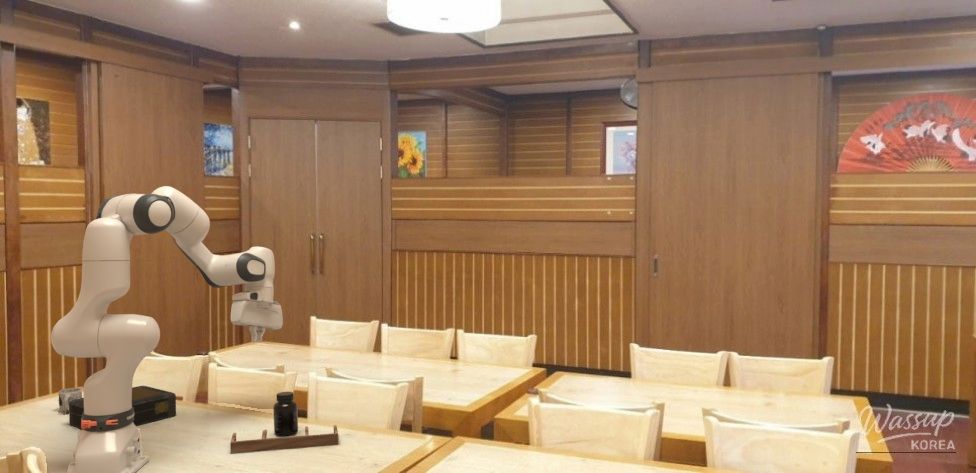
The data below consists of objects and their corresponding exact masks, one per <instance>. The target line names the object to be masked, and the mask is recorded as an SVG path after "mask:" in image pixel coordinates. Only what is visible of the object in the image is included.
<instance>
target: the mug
mask: <svg viewBox="0 0 976 473" xmlns="http://www.w3.org/2000/svg"><path fill="white" fill-rule="evenodd" d="M82 389H83V388H81V387H69V388H63V389H60V390H58V412H59V413H60V414H61V413H62V414H69V402H70V401H72V400H75V399H80V398H83V390H82Z"/></svg>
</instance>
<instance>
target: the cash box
mask: <svg viewBox="0 0 976 473" xmlns="http://www.w3.org/2000/svg"><path fill="white" fill-rule="evenodd" d="M176 400H177V396H176V393H175V392H172V391H168V390H164V389H159V388H155V387H151V386H147V385H138V386H132V407H133V408H134V421H133V423H134V424H135V426H136V427H138V426H142V425H146V424H149V423H153V422H154V423H155V422H158V421H162V420H165V419H169V418H174V417H176V416H177V401H176ZM83 412H84V397H82V398H80V399H75V400H72V401H70V402H69V413H68V416H69V417H68V419H69V422H68V423H69V425H70V426H72V427H75V428H78V429H81V430H83V429H82V428H81V419H82V413H83Z"/></svg>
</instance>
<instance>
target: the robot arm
mask: <svg viewBox="0 0 976 473" xmlns="http://www.w3.org/2000/svg"><path fill="white" fill-rule="evenodd" d="M210 228H211V221H210V218H209V216H208V214H207V213H206V211H205V210H203V208H201V206H199V205H198V204H197V203H196V202H194V201H193V200H192V199H191V198H190V197H189V196H187V195H186V194H184V193H183V192H181V191H180V190H178V189H177V188H174V187H172V186H168V185H163V186H160V187H157V188H156V189H154V190H153V191H152V192H151V193H135V192H133V193H126V194H121V195H120V194H117V195H112V196H110V197H108V198H107V199H105V200H103V201H102V202H101V204H100V205H99V208H98V210H97V214H96V217H95V219H93V220H92V221H91V222H89V223H88V224H87V226H86V229H85V232H84V238H83V242H82V243H83V244H82V255H81V256H82V257H81V260H82V261H81V265H82V266H81V282H80V283H81V284H80V285H81V286H80V291H79V295H78V298H77V300H76V302H75V304H74V305H73V307H72V308H71V309H70V311H68V313H66V314H65V315H64V316H63V317H62V318H60V319H59V320H58V321H57V322H56V324H54V326H53V328H52V330H51V334H50V342H51V345H52V348H53V349H54V351H55V352H56V354H58V355H60V356H64V357H70V358H79V359H82V358H83V359H85V358H88V359H89V358H105V359H106V363H105V367H104V368H103V369H101V370H99V371H97V372H95V373H92V374H91V375H90V376H89V377H87V379H86V380H85V381H84V384H83V388H82V389H83V390H82V393H83V398H84V412H83V413H82V419H81V428H82V429H81V428H80V429H81V431H79V432H78V434H77V444H76V450H75V452H73V458H74V461H70V463H68V467H67V471H66V473H136V472H138V470H140V469H141V468H143V466H145V465H146V464H147V463H148V462H149V461H150V459H149V458H150V457H149V456H148V455H146V454H143V447H142V446H143V445H142V433H141V429H140V428H139V427H138V426H135V424H134V423H133V421H134V408H133V407H132V388H133V381H134V377H135V374H136V370H137V368H138V366H139V365H140V364H141V362H142V361H143V360H144V359H145V358H146V357H147V356H148V355H150V354H151V353H152V352H153V351H154V350H155V349H156V348H157V346H158V345H159V342H160V338H161V330H160V327H159V324H158V322H157V320H156V319H155V318H153V317H152V316H147V315H142V314H137V313H136V314H135V313H128V314H127V313H122V314H121V313H115V314H108V308H109V306H110V304H111V303H112V302H114V301H117V300H118V299H120V298H122V297H124V296H125V295H126V294H127V293H128V292H129V291H130V287H131V251H130V250H131V249H130V246H131V241H132V239H133V237H134V236H143V235H154V234H157V233H160V232H161V233H162V232H163V231H167V233H169V234H170V236H172V237H173V241H174V244H175V245H176V247H177V248H178V250H180V252H181V253H183V255H184V256H185V257H186V258H187V259H188V260H189V261H190V262H191V263H192V264H193V265H194V266H195V267H196V269H197V270H198V271H199V272H200V274H201V275H202V278H204V279H203V280H204V281H205V282H206V284H208V285H209V286H210V287H212V288H215V289H220V288H225V287H228V286H236V285H238V286H239V285H244V284H245V287H244V291H242V292H238V293H234V294H232V298H231V299H232V301H233V302H232V304H231V310H230V322H231V324H232V325H234V326H236V325H237V326H244V327H248V330H249V333H250V336H251V342H254V343H255V342H256V343H261V342H263V336H264V334H265V332H266V329H267V330H281V329H282V327H283V325H284V322H283V321H284V319H283V318H284V317H283V310H282V305H281V304H280V303H279V301H277V300H274V296H275V293H274V291H275V290H274V289H275V288H274V278H275V272H276V270H275V268H276V267H275V266H276V264H275V262H276V261H275V255H274V252H273V251H272V250H271V249H270V248H268V247H265V246H260V245H259V246H258V245H257V246H255V245H254V246H252V247H250V248H249V249H248V250H246V251H243V252H238V253H237V252H236V253H231V254H225V255H220V254H219V255H218V254H214V253H212V252H211V250H209V249H208V248H207V246H205V244H204V243H203V241H204V240H205V239H206V237H207V235H208V234H209V231H210Z"/></svg>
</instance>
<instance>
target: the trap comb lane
mask: <svg viewBox="0 0 976 473" xmlns="http://www.w3.org/2000/svg"><path fill="white" fill-rule="evenodd" d="M267 432H268V430H267V429H263V430H262V434H261V438H258V439H248V440H247V439H246V440H237V432H233V433H232V436H231V440H230V443H229V444H230V454H231V455H232V454H241V453H242V454H243V453H245V454H246V453H254V452H255V451H257V452H266V451H267V452H268V451H278V450H291V449H292V450H293V449H302V448H315V447H328V446H339V431H338V426H337V424H334V425H333V432H332V433H322V434H321V433H320V434H311V435H310V433H309V426H307V425H306V426H305V427H304V432H305V433H304V434H305V435H304V434H303V435H292V436H287V437H279V436H277V437H267Z"/></svg>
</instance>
